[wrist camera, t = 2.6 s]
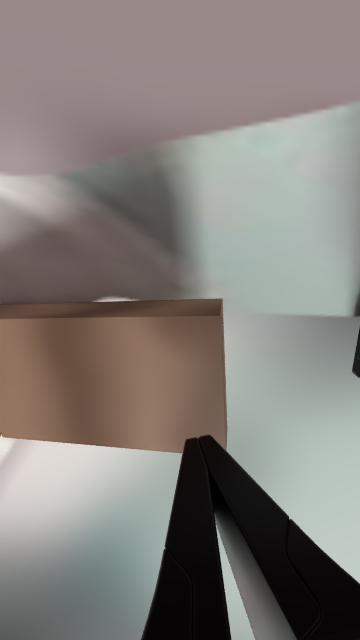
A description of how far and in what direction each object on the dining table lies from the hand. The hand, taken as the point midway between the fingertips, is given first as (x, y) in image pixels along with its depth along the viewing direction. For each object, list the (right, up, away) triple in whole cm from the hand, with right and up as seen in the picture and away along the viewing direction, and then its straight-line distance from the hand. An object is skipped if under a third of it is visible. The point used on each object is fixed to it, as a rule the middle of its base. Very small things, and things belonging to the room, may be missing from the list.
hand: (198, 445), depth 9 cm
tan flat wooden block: (-4, +2, +5) cm, 7 cm away
